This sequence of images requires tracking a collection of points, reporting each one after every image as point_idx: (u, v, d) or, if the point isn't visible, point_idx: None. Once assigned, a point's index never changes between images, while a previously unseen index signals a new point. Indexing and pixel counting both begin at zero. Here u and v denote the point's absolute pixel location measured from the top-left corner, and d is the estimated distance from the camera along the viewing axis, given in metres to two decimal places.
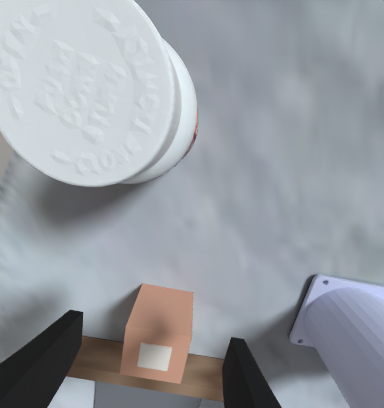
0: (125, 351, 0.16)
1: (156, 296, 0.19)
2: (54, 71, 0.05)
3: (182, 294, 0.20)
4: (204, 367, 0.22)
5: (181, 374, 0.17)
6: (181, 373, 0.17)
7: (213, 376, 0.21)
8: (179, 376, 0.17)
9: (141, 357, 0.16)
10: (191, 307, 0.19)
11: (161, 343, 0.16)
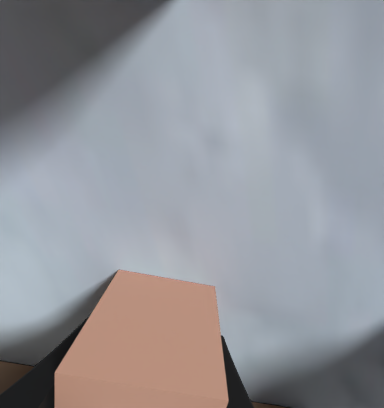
0: None
1: (143, 295, 0.09)
2: None
3: (195, 291, 0.10)
4: None
5: None
6: None
7: None
8: None
9: None
10: (216, 318, 0.09)
11: None
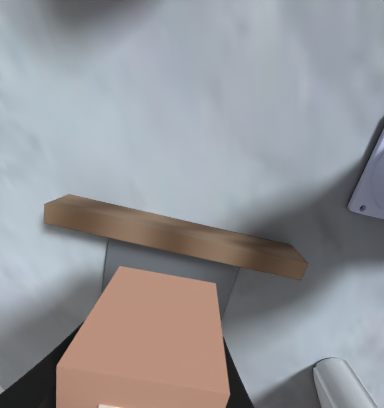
0: None
1: (144, 291, 0.09)
2: None
3: (196, 287, 0.10)
4: (242, 239, 0.17)
5: None
6: None
7: (254, 245, 0.17)
8: None
9: None
10: (217, 314, 0.09)
11: None
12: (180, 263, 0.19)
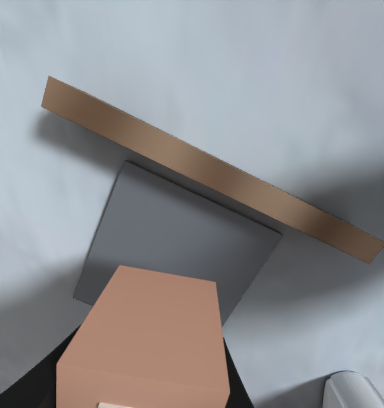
0: None
1: (144, 289, 0.09)
2: None
3: (196, 286, 0.10)
4: (299, 199, 0.13)
5: None
6: None
7: None
8: None
9: None
10: (217, 312, 0.09)
11: (151, 405, 0.06)
12: (207, 219, 0.15)
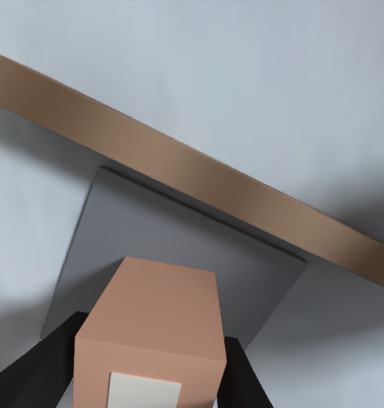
0: (79, 391, 0.07)
1: (149, 277, 0.10)
2: None
3: (196, 275, 0.11)
4: (335, 219, 0.10)
5: None
6: None
7: (362, 233, 0.09)
8: None
9: (114, 405, 0.07)
10: (215, 297, 0.10)
11: (157, 375, 0.07)
12: (210, 243, 0.11)
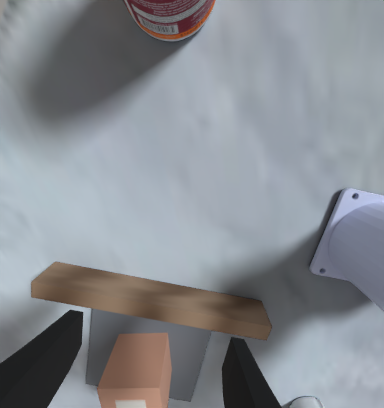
0: None
1: (130, 346, 0.20)
2: None
3: (156, 338, 0.21)
4: (214, 300, 0.19)
5: None
6: None
7: (224, 308, 0.18)
8: None
9: None
10: (163, 352, 0.19)
11: (134, 398, 0.17)
12: None
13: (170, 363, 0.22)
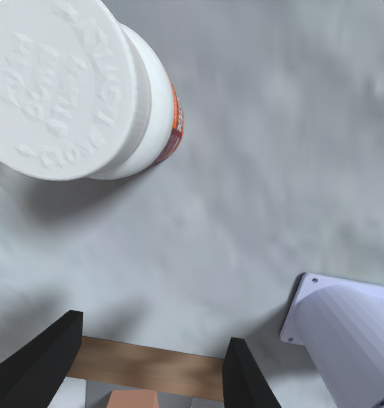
0: None
1: (122, 405, 0.22)
2: (14, 63, 0.05)
3: (145, 395, 0.23)
4: (194, 365, 0.22)
5: None
6: None
7: (203, 374, 0.21)
8: None
9: None
10: None
11: None
12: None
13: None
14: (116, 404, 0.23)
